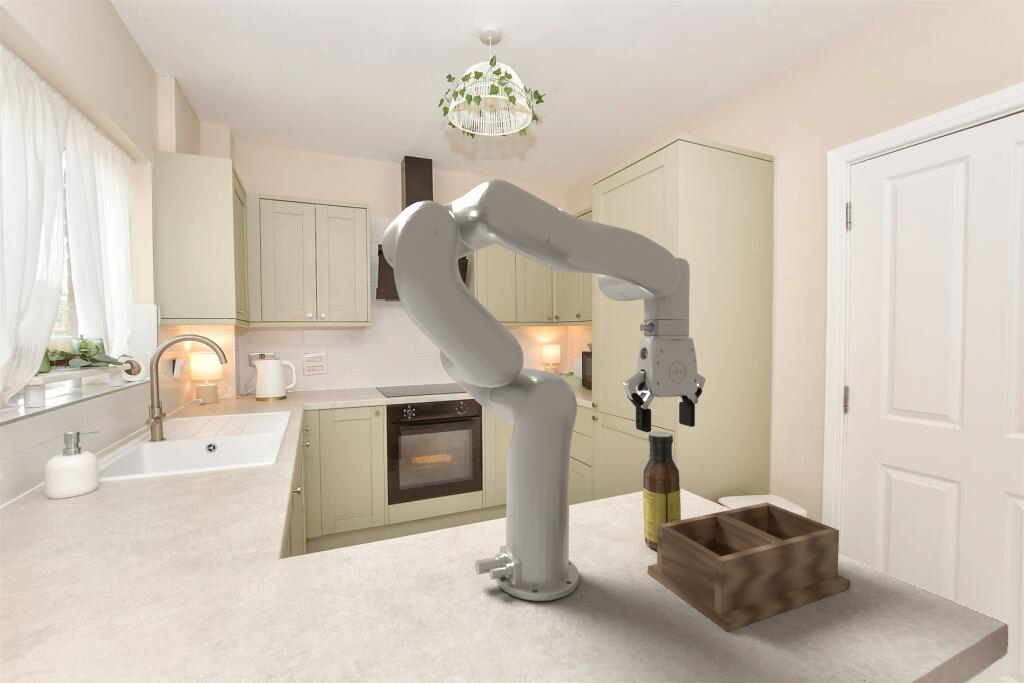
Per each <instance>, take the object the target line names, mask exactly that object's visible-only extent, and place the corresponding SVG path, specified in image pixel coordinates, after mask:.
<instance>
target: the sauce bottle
mask: <svg viewBox="0 0 1024 683" xmlns="http://www.w3.org/2000/svg"><path fill="white" fill-rule="evenodd" d="M673 436H674V435H673V434H672V433H671V432H667V431H652V432H651V431H650V432H648V443H649V456H648V457H649V459H648V461H647V462H646V465H645V466H644V469H643V480H642V481H643V485H642V486H643V490H642V491H643V492H642V493H643V494H642V495H643V497H642V499H643V502H642V504H643V534H644V541H645V544H646V545H647V547H649V548H651V549H652V550H653V551H656V552H657V538H658V525H660V524H665V523H670V522H674V521H679V520H682V518H681V517H682V511H681V509H682V508H681V506H682V505H681V503H682V502H681V487H680V471H679V469H678V467H677V465H676V463H675V461H674V460H673V445H672V444H673V443H674V437H673Z"/></svg>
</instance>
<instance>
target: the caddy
mask: <svg viewBox="0 0 1024 683" xmlns="http://www.w3.org/2000/svg"><path fill="white" fill-rule="evenodd" d="M839 543H840V530H839V529H838V528H835V527H831V526H829V525H826V524H825V523H821V522H819V521H816V520H813V519H811V518H808V517H806V516H803V515H800V514H799V513H795V512H793V511H790V510H787V509H785V508H782V507H779V506H777V505H775V504H772V503H769V502H768V501H767V502H762V503H758V504H753V505H748V506H743V507H739V508H738V507H737V508H733V509H728V510H724V511H718V512H714V513H710V514H709V513H708V514H705V515H700V516H694V517H691V518H690V517H689V518H685V519H681V520H679V521H674V522H670V523H665V524H660V525H658V538H657V551H656V563H655V564H650V565H647V574H648V575H649V576H650V577H651V578H653V579H654V580H656V581H657V582H658V583H660V584H661V585H662V586H664V587H665V588H667V590H669V591H671V592H672V593H674V594H675V595H676V596H678V597H679V598H680V599H682V600H683V601H684V602H685V603H687V604H689V605H690V606H691V607H692V608H694V609H695V610H697V611H698V612H699V613H701V614H702V615H703V616H705V617H707V618H708V619H709V620H710V621H712V622H713V623H714V624H716V625H717V626H719V627H720V628H721V629H723V630H724V631H726V633H729V632H730V631H734V630H736V629H739V628H742V627H745V626H748V625H751V624H755V623H756V622H759V621H762V620H765V619H768V618H770V617H774V616H777V615H779V614H782V613H784V612H788V611H790V610H793V609H795V608H798V607H799V608H800V607H802V606H805V605H808V604H810V603H813V602H817V601H819V600H821V599H824V598H828V597H831V596H832V595H835V594H838V592H839V593H841V591H842V592H843V591H844V590H845V591H847V590H849V589H848V588H850V589H851V580H850V579H848V578H846V577H844V576H842V575H839V550H840V548H839V547H840V546H839V545H840V544H839Z"/></svg>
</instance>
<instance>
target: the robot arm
mask: <svg viewBox="0 0 1024 683" xmlns="http://www.w3.org/2000/svg"><path fill="white" fill-rule="evenodd" d="M494 244H495V245H498V246H500V247H502V248H505V249H507V250H508V251H511V252H514V253H516V254H517V255H519V256H523V257H524V258H527V259H528V260H530V261H533V262H535V263H538V264H539V265H542V266H543V267H546V268H548V269H550V270H554V271H560V272H566V273H576V274H578V273H579V274H580V273H581V274H596V275H597V285H598V288H599V289H600V292H601V293H602V294H603V295H604V296H605V297H607V298H608V299H610V300H613V301H617V302H630V301H639V300H642V301H643V323H641V324H640V325H639V330H640V332H642V333H643V338H641V339H640V344H639V349H638V354H637V362H636V363H637V364H636V374H635V375H632V376H631V377H630V378H629V379H626V381H624V382H623V385H622V386H623V388H624V391H625V393H626V395H627V399H628V401H630V402H631V403H632V406H633V407H634V408H635V428H636V430H637V431H642V432H644V433H651V431H652V409H651V408H649V406H651V403H652V402H653V400H654V399H655V398H660V399H661V398H672V397H674V398H675V397H679V398H680V399H681V401H679V403H678V404H679V405H678V423H679V424H680V425H681V426H682V425H683V426H686V427H691V428H692V427H695V425H696V405H697V404H699V403H698V402H699V398H700V396H701V395H702V393H703V388H704V386H705V383H706V378H705V377H704V376H702V375H700V374H699V373H698V363H697V362H698V361H697V354H696V348H695V343H694V340H693V337H690V279H691V278H690V271H691V270H690V264H689V263H690V262H688V260H686V259H685V258H683V257H682V258H681V257H675V256H674V254H673V253H672V252H670V251H669V250H668V249H667V248H665V247H664V246H663V245H661V244H659V243H657V242H655V241H654V240H652V239H650V238H649V237H647V236H645V235H642V234H640V233H637V232H635V231H632V230H628V229H626V228H624V227H623V228H622V227H620V226H619V227H618V226H614V225H610V224H606V223H601V222H598V221H595V220H594V221H593V220H588V219H582V218H580V217H579V218H578V217H576V216H574V215H572V214H570V213H568V212H566V211H564V210H562V209H561V208H558V207H556V206H555V205H553V204H551V203H549V202H547V201H545V200H543V199H541V198H540V197H538V196H536V195H534V194H532V193H530V192H528V191H527V190H524V189H523V188H521V187H519V186H517V185H516V184H513V183H511V182H509V181H506V180H503V179H498V178H496V179H489V180H486V181H484V182H482V183H480V184H479V185H477V186H475V187H474V188H473V189H471V190H470V191H469V192H468V193H466V194H465V195H463V196H462V197H459V198H457V199H455V200H453V201H450V202H448V203H446V204H442V203H440V202H438V201H433V200H422V201H417V202H414V203H413V204H411V205H410V206H408V207H406V208H405V209H404V210H403V211H402V212H401V213H400V214H399V215H398V216H397V217H395V219H394V220H393V221H392V222H391V223H390V224H389V225H388V227H387V228H386V229H385V232H384V233H383V236H382V240H381V250H382V253H383V256H384V257H383V258H384V259H385V260H386V263H387V264H388V265H389V266H390V267H391V268H393V277H394V283H395V287H396V292H397V295H398V298H399V301H400V303H401V304H400V305H402V308H403V309H404V312H405V314H406V315H407V316H408V317H409V319H410V320H411V321H412V322H413V324H414V325H415V326H416V327H417V328H418V329H419V330H420V331H421V332H422V334H424V335H425V336H426V337H427V338H428V339H429V340H430V341H431V342H432V343H433V345H434V346H436V347H437V348H438V349H439V358H440V362H441V365H442V367H443V369H444V371H445V372H446V374H448V376H449V377H450V378H451V380H453V381H454V382H455V383H456V384H457V385H459V387H461V389H463V390H464V391H465V392H466V393H467V394H468V395H470V397H472V398H473V399H474V400H475V401H476V402H477V403H478V404H479V405H480V406H481V407H483V408H484V409H485V410H486V411H488V413H490V414H491V415H492V416H493V417H494V418H497V419H498V420H500V421H501V422H503V423H506V424H508V425H510V426H512V427H513V430H512V435H511V439H510V442H509V446H508V451H507V456H506V517H505V518H506V519H505V521H506V526H505V527H506V528H505V529H506V530H505V531H506V534H505V539H506V541H505V542H506V543H505V544H506V545H501V546H499V553H498V554H495V555H494V557H490V558H483V559H478V560H475V562H474V568H475V573H476V575H477V576H478V575H480V576H481V575H484V574H489V578H490V580H496V582H497V585H498V587H500V588H501V590H503V591H504V592H506V593H507V594H509V595H511V596H513V597H516V598H518V599H522V600H527V601H535V602H543V601H544V602H545V601H547V602H548V601H554V600H557V599H562V598H563V597H566V596H568V595H570V594H571V593H572V592H574V591H575V589H576V588H577V587H578V585H579V581H580V575H579V573H580V572H579V569H578V568H577V566H576V564H574V563H573V562H572V561H571V560H570V558H569V557H570V556H569V554H570V550H569V548H570V486H571V484H570V481H571V479H570V478H571V477H570V476H571V475H570V473H571V470H570V469H571V467H570V466H571V448H572V441H573V440H572V439H573V434H574V430H575V424H576V418H577V413H578V402H577V397H576V395H575V391H574V390H573V387H571V384H569V382H567V381H566V379H564V378H563V377H562V376H560V375H557V374H555V373H553V372H550V371H546V370H540V369H535V368H528V367H524V360H525V358H524V357H525V356H524V351H523V349H522V347H521V344H520V342H519V341H518V339H517V338H516V337H515V336H514V334H513V333H512V332H511V331H510V330H508V328H507V327H505V326H504V325H503V324H502V323H501V322H500V321H499V320H498V318H496V317H495V316H494V315H493V314H492V313H491V312H490V311H489V310H488V309H487V308H486V307H485V306H484V305H483V304H482V303H481V302H480V301H479V300H478V298H476V297H475V295H474V294H473V293H472V292H471V290H470V289H469V288H468V287H467V285H466V284H465V282H464V281H463V278H462V276H461V272H460V268H459V259H462V258H465V257H466V256H469V255H471V254H473V253H475V252H478V251H479V250H482V249H484V248H486V247H490V246H491V245H494ZM636 388H637V389H636Z"/></svg>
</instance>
